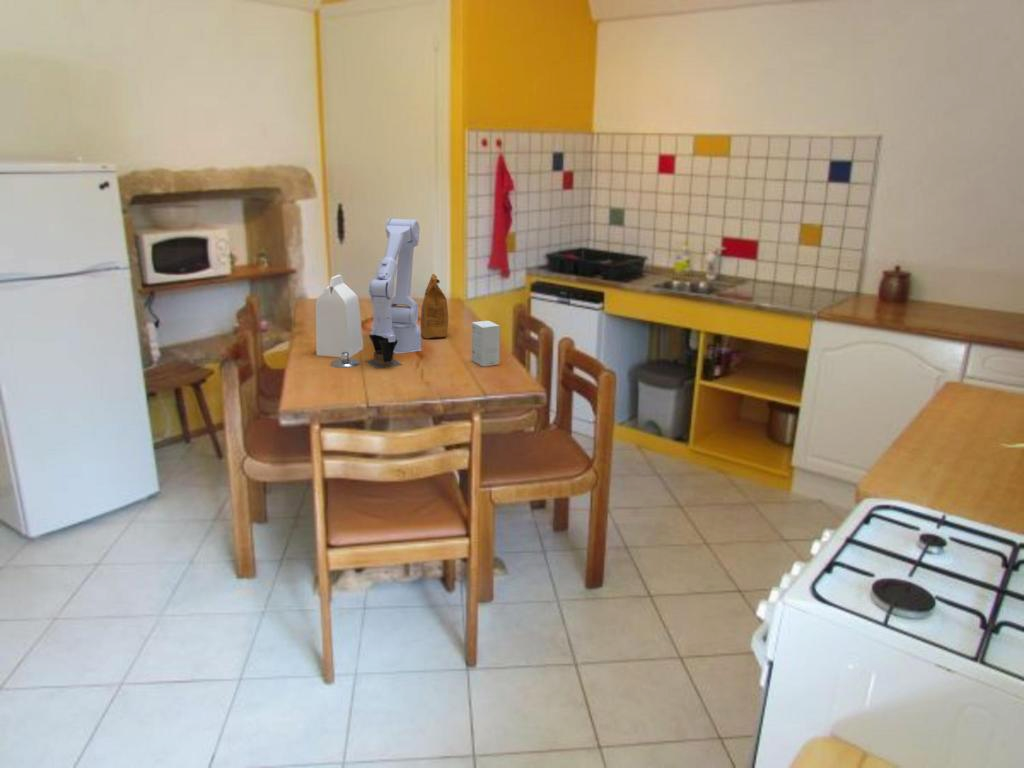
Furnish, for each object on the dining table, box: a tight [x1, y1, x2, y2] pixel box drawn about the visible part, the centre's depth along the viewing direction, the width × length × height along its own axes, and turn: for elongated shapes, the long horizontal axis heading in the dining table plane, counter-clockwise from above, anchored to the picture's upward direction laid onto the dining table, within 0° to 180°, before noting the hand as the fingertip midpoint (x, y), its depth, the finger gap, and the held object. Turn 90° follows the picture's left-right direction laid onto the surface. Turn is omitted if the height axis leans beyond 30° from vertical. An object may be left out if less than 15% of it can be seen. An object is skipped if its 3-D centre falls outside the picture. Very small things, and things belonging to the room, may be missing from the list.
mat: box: [365, 359, 403, 370], centre depth 239 cm, size 9×9×1 cm
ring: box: [373, 350, 395, 366], centre depth 239 cm, size 6×6×4 cm
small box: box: [471, 320, 501, 367], centre depth 242 cm, size 8×6×13 cm
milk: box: [315, 274, 364, 359], centre depth 247 cm, size 12×12×26 cm
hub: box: [330, 352, 361, 369], centre depth 237 cm, size 9×9×4 cm
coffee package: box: [420, 273, 449, 339], centre depth 273 cm, size 10×12×22 cm
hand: (383, 358), depth 239 cm, fingers closed on ring, 6 cm apart
